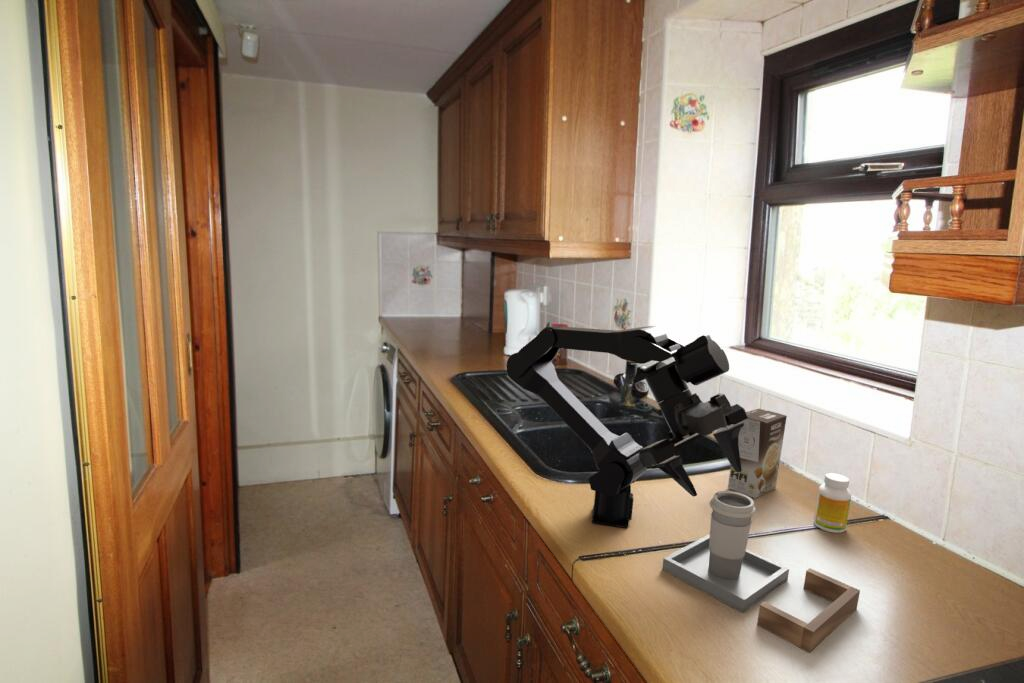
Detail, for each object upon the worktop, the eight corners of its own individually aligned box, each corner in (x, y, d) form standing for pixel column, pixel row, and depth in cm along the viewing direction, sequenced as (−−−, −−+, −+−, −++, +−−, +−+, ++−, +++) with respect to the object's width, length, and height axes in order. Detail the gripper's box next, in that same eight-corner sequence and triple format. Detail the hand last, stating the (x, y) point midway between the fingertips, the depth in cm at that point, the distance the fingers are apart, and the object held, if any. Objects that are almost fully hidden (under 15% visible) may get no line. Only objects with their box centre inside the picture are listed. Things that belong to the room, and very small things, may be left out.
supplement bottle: (849, 535, 114) (858, 485, 112) (817, 531, 115) (825, 481, 113) (840, 522, 119) (848, 473, 117) (810, 517, 120) (817, 469, 118)
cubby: (757, 624, 87) (759, 604, 86) (806, 586, 97) (809, 568, 96) (809, 652, 81) (813, 632, 81) (856, 609, 91) (860, 590, 91)
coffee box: (756, 499, 127) (766, 423, 124) (726, 488, 131) (736, 414, 128) (776, 488, 133) (787, 415, 130) (748, 478, 137) (757, 407, 134)
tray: (662, 569, 99) (663, 558, 99) (709, 543, 108) (710, 533, 107) (742, 612, 89) (744, 599, 89) (787, 580, 98) (789, 568, 98)
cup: (712, 554, 103) (721, 485, 101) (753, 570, 99) (763, 499, 97) (694, 571, 98) (703, 499, 96) (736, 589, 94) (747, 513, 91)
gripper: (647, 409, 95) (696, 507, 92) (743, 364, 100) (791, 454, 98) (619, 421, 105) (662, 509, 103) (708, 379, 111) (750, 461, 108)
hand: (717, 483), depth 103 cm, fingers open, 9 cm apart
